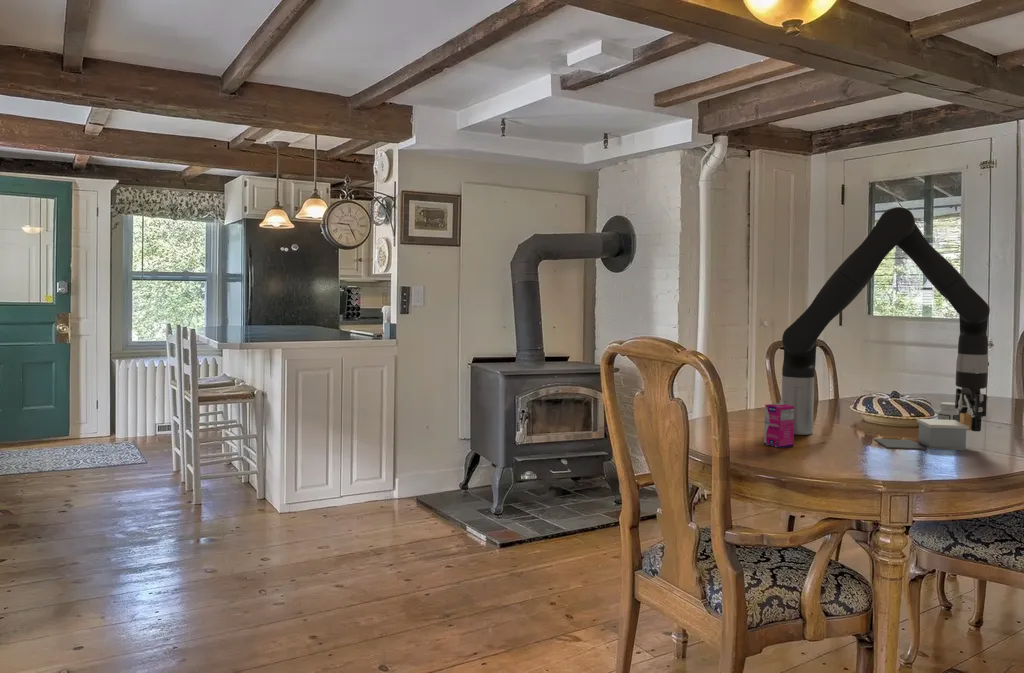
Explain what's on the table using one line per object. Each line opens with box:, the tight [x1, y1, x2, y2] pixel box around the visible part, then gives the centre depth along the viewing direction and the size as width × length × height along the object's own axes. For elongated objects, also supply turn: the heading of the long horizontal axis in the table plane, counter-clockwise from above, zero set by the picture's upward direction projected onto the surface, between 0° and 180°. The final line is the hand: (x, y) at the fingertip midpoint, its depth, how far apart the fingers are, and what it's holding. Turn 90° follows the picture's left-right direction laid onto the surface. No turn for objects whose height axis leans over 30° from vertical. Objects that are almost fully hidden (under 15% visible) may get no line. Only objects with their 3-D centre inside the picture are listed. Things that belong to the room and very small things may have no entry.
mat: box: [873, 438, 927, 451], centre depth 217 cm, size 10×12×1 cm
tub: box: [917, 422, 967, 451], centre depth 215 cm, size 9×9×6 cm
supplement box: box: [763, 402, 795, 449], centre depth 214 cm, size 6×6×12 cm
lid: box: [916, 412, 972, 431], centre depth 214 cm, size 14×10×5 cm
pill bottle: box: [937, 401, 959, 421], centre depth 230 cm, size 6×6×10 cm
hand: (969, 428), depth 213 cm, fingers open, 8 cm apart
